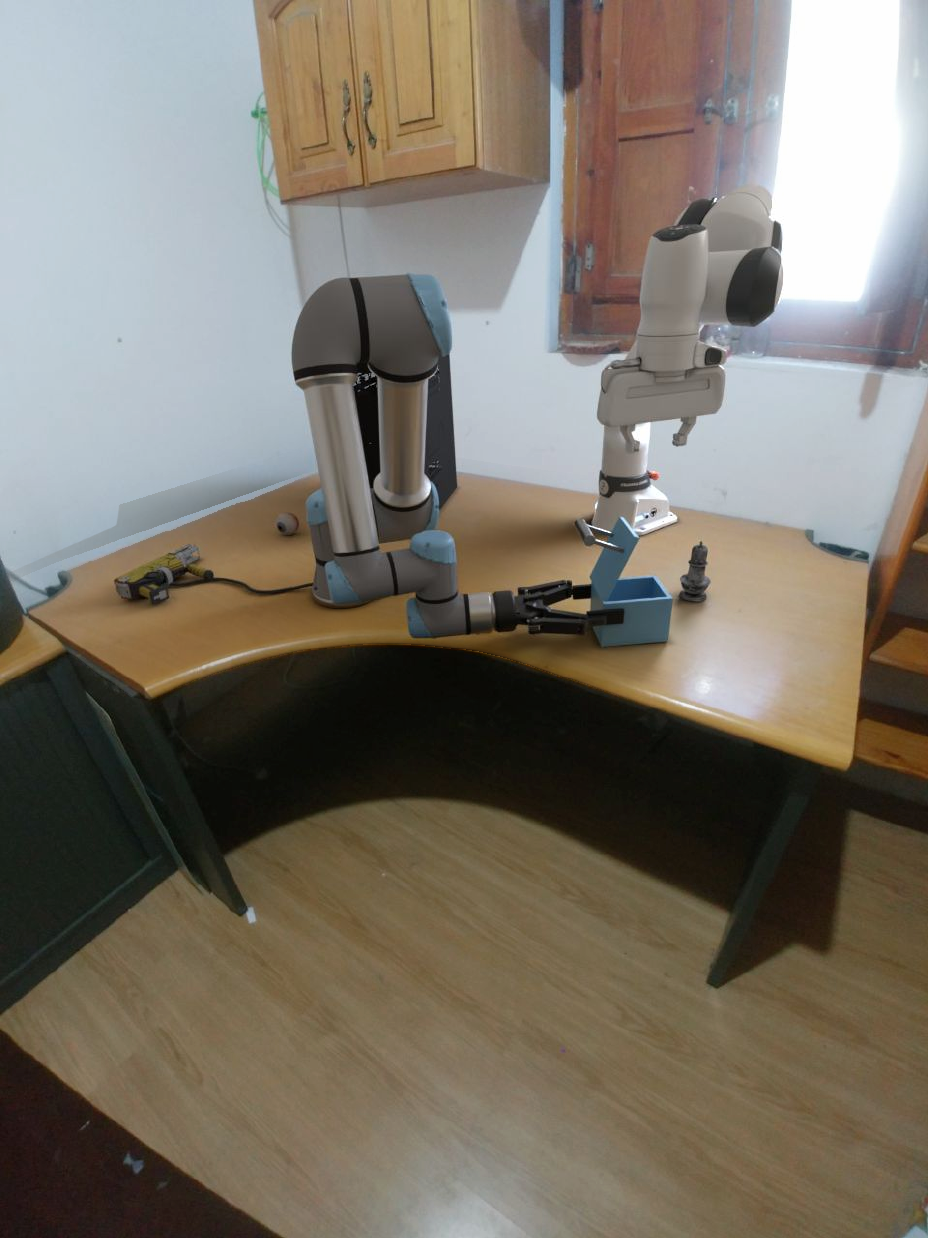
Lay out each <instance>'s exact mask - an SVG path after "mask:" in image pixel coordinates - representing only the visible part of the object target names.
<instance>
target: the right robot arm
mask: <svg viewBox="0 0 928 1238" xmlns="http://www.w3.org/2000/svg"><path fill="white" fill-rule="evenodd" d="M774 218H775V202H774V198H773V195H772V194H771V192H770V191H769V190H768V189H767V188H766V187H765V186H762V185H760V184H756V183H748V184H744V185H741V186H738V187H736V188H734V189H732V190H730V191H729V192H727V193H726V194H725V195H723V196H722V197H721V198H720V199H718V200H717V197H712V198H711V199H708V198H700V199H697V200H693V201H692V202H691V203H690V204H689V205H688V206H687V207H685V208H684V209H683V210H682V211H681V213H680V214H679V215H678V216H677V218H676V220H675V221H674V223H673V225H672V226H666V227H663V228H661V229H658V230H657V231H655V232H654V233H653V234H652V235H651V236H650V238H649V241H648V244H647V248H646V253H645V257H644V262H643V269H642V276H641V283H640V291H639V307H640V320H639V324H638V327H637V330H636V337H635V341H634V343H633V344H632V346H631V347H630V350H629V351H628V353H627V355H626V356H625V358H624V359H615V360H612V361H610V363H608V364H607V365H606V366H605V367H604V368H603V370H602V371H601V375H600V391H599V396H598V402H597V409H596V410H597V411H596V419H597V420H598V422H599V423H600V424H601V425H603V438H602V453H601V468H600V470H599V474H598V492H599V493H598V498H597V502H596V503H595V506H594V509H595V511H594V514H593V517H592V520H591V526H593V527H597V528H600V529H603V530H606V531H609V532H612V530H613V528H614V526H615V524H616V522H617V520H618V518H619V517H623V518H624V519H625V520H626V521H627V522H628V524H629V525H630V526H631V528H632V529H633V530H634V531H635V533H636V534H637V535H638V536H645V535H646V534H650V533H652V532H654V531H657V530H660V529H662V528H665V527H668V526H670V525H672V524H675V523H677V522H678V516H677V515H676V514H675V513H674V512H672V511H670V503H669V502H670V501H669V498H668V497H667V496H666V495H665V494H664V493H663V492H661V491H660V490H659V489H658V488H656V487H655V486H654V485H652V483H651V480H653V481H658V479H659V478H660V473H659V472H657V471H654V470H651V471H649V470H648V469H647V466H648V458H649V457H648V455H649V446H650V435H651V423H657V422H664V421H670V420H679V419H680V423H681V422H682V423H681V425H680V427H679V429H678V430H677V433H673V434H672V441H671V444H672V445H673V446H675V447H677V448H679V447H685V446H687V443H688V436H689V434H691V432H692V430H693V428H694V427H695V425H696V423H697V417H700V416H701V417H702V416H708V415H715V414H717V413H718V412H719V411H720V409H721V408H722V406H723V403H724V397H725V388H726V371H725V369H724V367H723V365H725V364H726V363H727V359H728V351H727V349H725V348H722V347H718V346H716V345H712V344H709V343H706V342H703V341H700V336H701V332H702V330H703V328H704V327H705V326H724V325H725V326H735V327H749V328H755V327H758V326H759V325H760V324H762V323H763V322H764V321H766V320H767V319H768V318H770V317H771V316H772V314H774V313H775V311H776V308H777V307H778V306H779V303H780V300H781V298H782V294H783V291H784V284H785V267H784V264H783V258H784V257H783V256H784V239H785V237H784V235H785V234H784V229H783V225H782V224H781V223H780V222H779V221H777V220H774Z"/></svg>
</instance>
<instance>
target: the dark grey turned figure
mask: <svg viewBox="0 0 928 1238" xmlns="http://www.w3.org/2000/svg"><path fill="white" fill-rule="evenodd" d="M708 553H709V549H708V547H707V546H706V545H705V544H704V542H703V541H702V540H700V542H699V543H698V544H695V545H694V546H693V547H692V550H691V555H690V559H689V560H688V562H687V563H688V565H689V567H688V572H687V573H685V574H682V575H681V576H680V577H679V581H680V585H681V587H682V590H680V591H679V594H678V595H679V597H680V598H681V599H683V600H685V601H689V602H694V603H695V602H703V601H705V600H706V599H707V596H708V595H707V594H706V590H707V589H708V588H709V586H710V585H711V583H712V581H711V578H709V577H708V576H706V573H705V572H706V567H707V566H708V564H709V563H708V561H707V557H708Z"/></svg>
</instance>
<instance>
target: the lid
mask: <svg viewBox="0 0 928 1238" xmlns="http://www.w3.org/2000/svg"><path fill="white" fill-rule="evenodd" d="M573 527H574V529H575V530H576V533H578V536H579V538H580V539H581V541H582V542H583V544H584V545H585V546H586V547H592V546H593V545H596V546H599V547H602V550H601V552H600V554H599V556H598V558H597V561H596V562H595V565H594V566H593V569H592V571H591V572H590V575H589V579H590V581H592V583H593V585H594V587H595V589H596V591H597V593H598V595H599V597H600V599H601V601H605V602H607V600H608V598H609V596H610V594H611V592H612V590H613V588H614V586H615V585H616V583H617V581H618V579H619V578H621V575H622V573H623V571H624V570H625V567H626V566H627V563H628V562H629V560H630V558H631V556H632V554H633V552H634V550H635V549H636V546H637V544H638V543H639V541H640V536H639V535H637V534H636V533H635V531H634V530H633V529H632V528H631V526H630V525H629V524H628V522H627V521H626V520H625V519H624V518H623V517H619V518H618V520H617V522H616V524H615V526H614V528H613V530H612V532H609V531H606V530H603V529H600V528H597V527H594V526H593V525H590V524H588V523H587V522H586V521H585V519H583V518H577V519H575V521H574V522H573ZM594 533H597V534H600V535H604V536H606V537H608V538H607V540H606V542H605V541H602V540H599V539H597V538H596V537H595V535H594Z"/></svg>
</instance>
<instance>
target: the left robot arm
mask: <svg viewBox="0 0 928 1238" xmlns="http://www.w3.org/2000/svg"><path fill="white" fill-rule="evenodd" d="M452 329H453V328H452V322H451V315H450V312H449V306H448V302H447V299H446V295H445V292H444V290H443V287H442V285H441V283H440V282H439V280H438V278H437V277H436V276H433V275H432V274H429V273H419V274H418V273H415V274H414V273H413V274H412V273H410V272H407V273H406V274H391V275H376V276H361V277H337V278H334V279H331V280H328V281H326V282H325V283H323V284H322V285H321V286H319V287H318V288H317V289H316V290H315V291H314V292H313V293H312V294H311V295H310V297H309V298H308V299H307V301H306V302H305V303H304V305H303V307H302V308H301V311H300V313H299V315H298V317H297V320H296V323H295V327H294V330H293V336H292V342H291V366H292V368H291V369H292V373H293V378H294V384H295V385H296V386H297V387H298V388H299V389H301V390H302V391H303V395H304V401H305V405H306V411H307V417H308V422H309V427H310V433H311V438H312V443H313V448H314V454H315V459H316V464H317V471H318V476H319V481H320V486H321V488H320V489H317V490H316V491H314V492H313V493H311V494H310V495H309V496H308V497H307V499H306V501H305V511H306V523H307V524H308V527H309V533H310V538H311V544H312V549H313V550H312V551H313V555H314V560H315V567H314V568H315V569H314V576H313V582H309V583H304V584H300V585H296V586H290V587H285V588H278V589H267V590H265V589H264V590H263V589H255V588H253V587H251V586H249V585H248V584H247V583H245V582H243V581H240V580H236V579H232V578H227V577H214V578H210V579H209V580H205V579H204V578H199V579H193V580H190V581H182V582H173V583H170V584H169V585H168V586H167V587H169V586H170V587H185V586H191V585H195V584H199V583H206V582H226V583H232V584H234V585H235V584H236V585H239V586H241V587H244V588H245V589H246V590H247V591H250V592H252V593H254V594H258V595H259V594H261V595H271V594H281V593H285V592H291V591H296V590H301V589H305V588H309V587H312V588H311V590H312V595H313V600H314V601H315V603H317V604H318V605H320V606H322V607H326V608H330V609H331V608H332V609H347V608H356V607H359V606H364V605H366V604H368V603H370V602H372V601H376V600H380V599H386V598H390V597H396V596H401V595H407V594H412V593H415V596H414V597H410V598H407V600H406V602H405V603H406V604H405V608H406V609H405V611H406V620H407V621H406V623H407V631H408V634H409V636H410V637H411V638H412V639H414V640H415V639H416V640H417V639H419V640H421V639H432V640H435V639H439V638H446V637H447V638H448V637H459V636H470V635H477V636H478V635H482V634H483V635H485V634H492V633H493V631H495V632H496V633H497V634H498V633H499V634H501V633H511V632H512V633H513V632H515V631H516V629H517V626H527V629H528V631H527V632H528V634H529V635H531V636H532V635H533V636H534V635H540V634H549V635H569V636H570V635H571V636H573V635H574V636H585V635H587V633H588V628H590V627H592V626H603V625H613V624H623V622H624V611H625V610H624V609H623V608H620V609H607V610H595V611H590V610H586V613H580V612H574V611H567V610H561V609H554V608H551V607H550V606H552V605H554V604H557V603H559V602H562V601H565V600H567V599H571V598H572V600H573V601H576V600H577V601H578V600H591V583H588V584H587V583H585V584H575V585H574V584H573V581H572V580H570V579H567V580H566V579H561V580H556V581H550V582H545V583H540V584H536V585H531V586H519V587H517V595H516V596H515V594H514V591H513V590H511V589H507V590H498V591H497V590H495V591H493V592H492V593H491V594H490V592H489V591H483V592H471V593H459V586H458V583H459V582H458V558H457V552H456V551H457V550H456V545H455V540H454V537H453V536H452V535H451V534H450V533H448V532H447V531H444V530H439V529H437V527H438V524H439V519H440V511H439V508H438V506H439V499H438V494H437V490H436V487H435V485H434V484H433V483H432V482H431V481H429V479H428V477H427V476H426V475H425V474H424V464H425V441H426V418H427V394H428V379H430V378H431V377H432V376H435V375H434V374H435V373H436V371H437V368H438V357H439V356H442V357H444V356H446V355H448V354H450V353H451V351H452V348H453V330H452ZM357 363H368V367H369V369H370V371H371V372H372V373H373V374H374V375H375V376H377V380H378V410H379V440H380V470H381V472H380V473H379V474H378V475H377V477H376V478H375V480H374V488H371V489H370V486H369V480H368V474H367V468H366V462H365V455H364V449H363V443H362V437H361V431H360V425H359V419H358V412H357V406H356V400H355V394H354V388H353V386H354V383H355V382H356V380H357V379H358V380H359V377H358V375H359V373H358V371H357ZM374 375H373V376H374ZM358 380H357V381H358ZM408 540H410V543H409V547H408V548H403V549H398V550H391V551H385V552H381V549H380V545H383V544H388V543H395V542H402V541H408Z"/></svg>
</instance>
